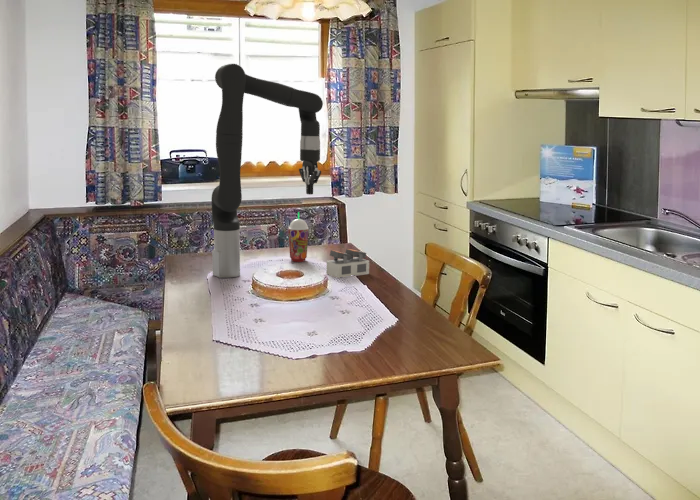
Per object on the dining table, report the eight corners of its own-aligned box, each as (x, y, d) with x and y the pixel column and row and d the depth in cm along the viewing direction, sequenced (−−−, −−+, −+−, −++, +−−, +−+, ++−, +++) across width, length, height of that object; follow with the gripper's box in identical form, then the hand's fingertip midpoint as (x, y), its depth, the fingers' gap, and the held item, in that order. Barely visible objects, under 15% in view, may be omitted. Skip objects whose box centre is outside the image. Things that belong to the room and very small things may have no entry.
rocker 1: (337, 257, 250) (338, 252, 250) (329, 255, 255) (330, 249, 255) (350, 260, 254) (351, 254, 254) (342, 257, 258) (343, 252, 258)
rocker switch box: (338, 278, 250) (338, 257, 249) (326, 273, 257) (326, 254, 255) (369, 274, 258) (369, 254, 257) (356, 269, 265) (357, 250, 263)
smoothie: (299, 263, 274) (299, 214, 270) (283, 260, 279) (283, 212, 275) (312, 260, 280) (313, 212, 277) (297, 257, 285) (297, 210, 281)
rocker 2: (352, 256, 254) (354, 250, 254) (344, 254, 259) (346, 248, 258) (365, 258, 258) (366, 252, 258) (357, 255, 262) (358, 250, 262)
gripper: (292, 147, 260) (292, 192, 263) (310, 149, 249) (310, 196, 252) (309, 147, 264) (309, 192, 267) (328, 149, 253) (327, 195, 256)
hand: (309, 194), depth 260 cm, fingers closed
